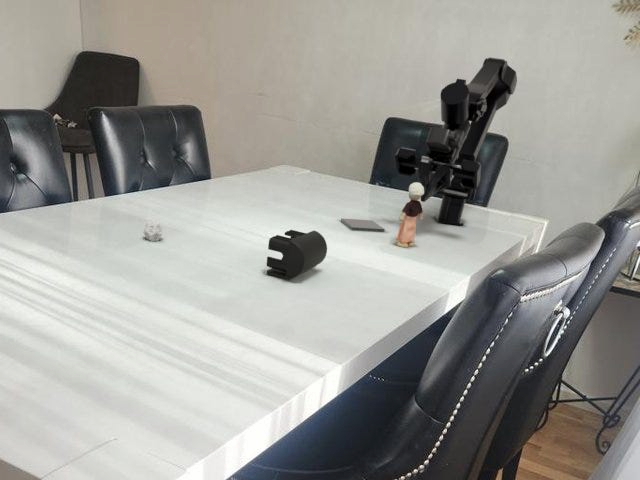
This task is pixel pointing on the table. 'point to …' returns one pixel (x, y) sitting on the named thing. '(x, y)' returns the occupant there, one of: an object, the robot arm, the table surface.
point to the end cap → (296, 253)
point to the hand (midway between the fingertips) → (422, 200)
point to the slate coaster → (362, 225)
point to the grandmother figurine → (410, 216)
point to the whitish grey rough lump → (153, 231)
